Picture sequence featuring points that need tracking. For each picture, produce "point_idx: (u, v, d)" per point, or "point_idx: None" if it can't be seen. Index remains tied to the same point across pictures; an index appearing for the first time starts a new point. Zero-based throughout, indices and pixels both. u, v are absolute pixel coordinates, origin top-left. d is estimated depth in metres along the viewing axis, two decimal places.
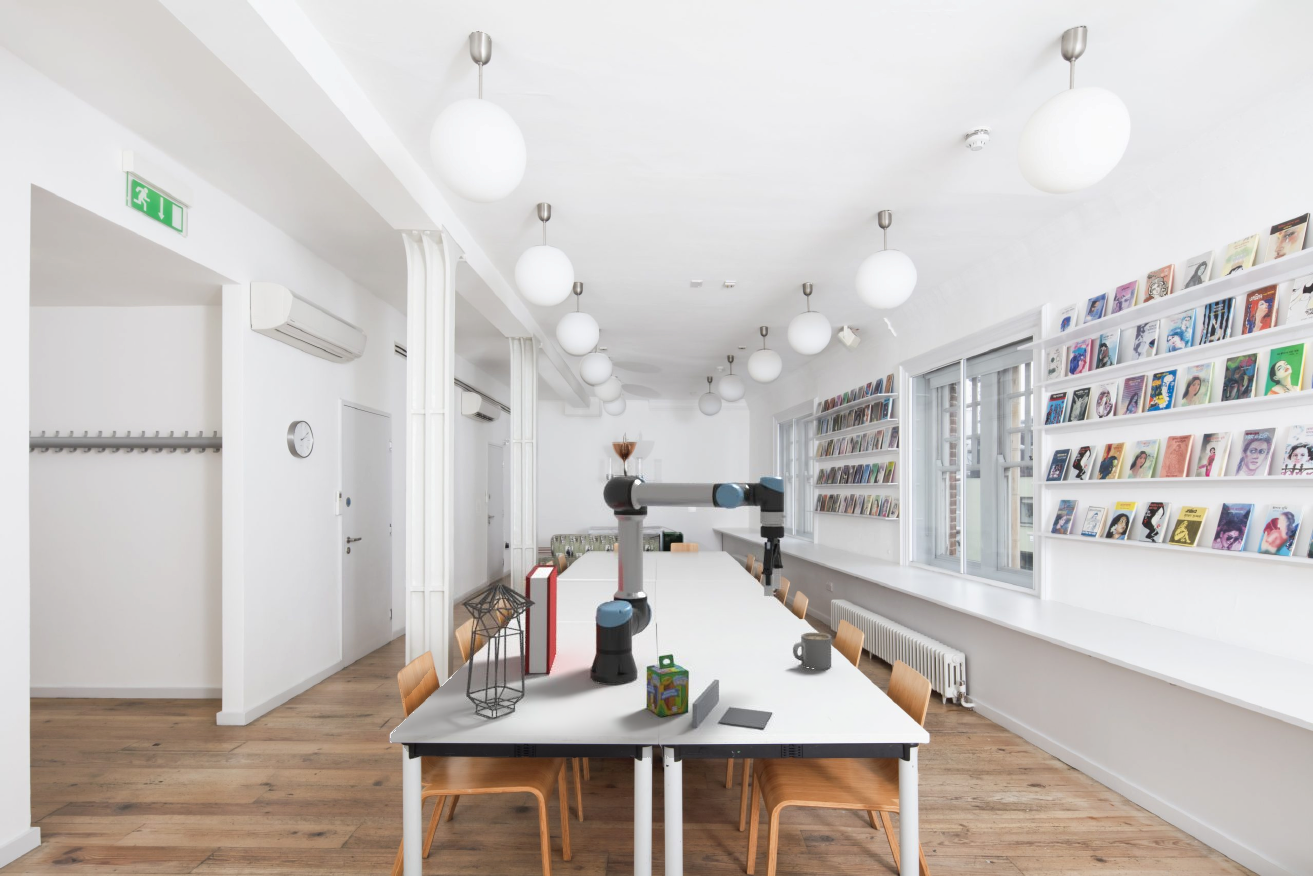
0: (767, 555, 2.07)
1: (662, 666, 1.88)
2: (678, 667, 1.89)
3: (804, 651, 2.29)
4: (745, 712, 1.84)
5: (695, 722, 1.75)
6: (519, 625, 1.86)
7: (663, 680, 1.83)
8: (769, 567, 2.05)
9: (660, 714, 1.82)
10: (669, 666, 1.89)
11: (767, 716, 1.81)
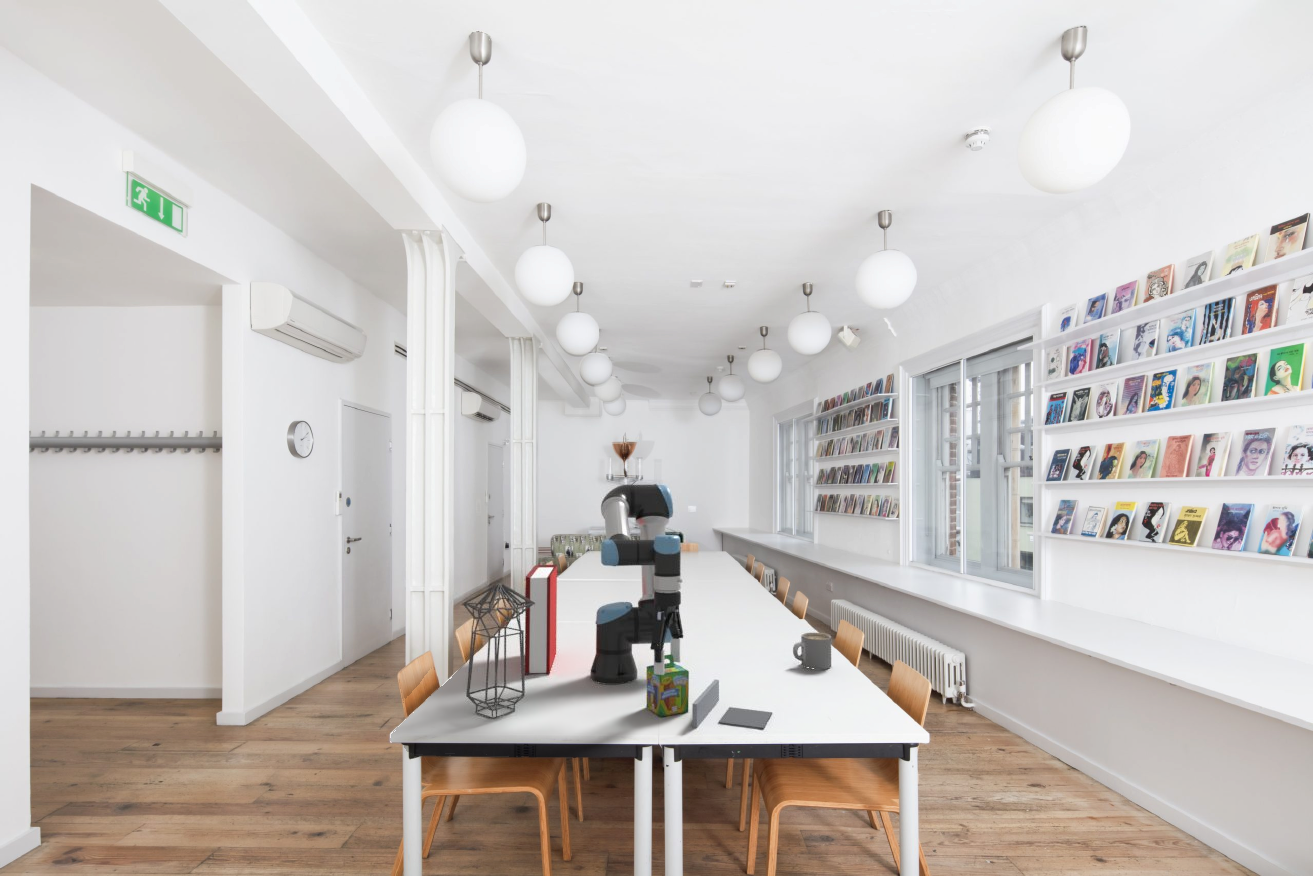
0: (657, 627, 1.81)
1: None
2: (678, 667, 1.89)
3: (804, 651, 2.29)
4: (745, 712, 1.84)
5: (695, 722, 1.75)
6: (519, 625, 1.86)
7: (663, 680, 1.83)
8: (658, 642, 1.79)
9: (660, 714, 1.82)
10: (669, 666, 1.89)
11: (767, 716, 1.81)
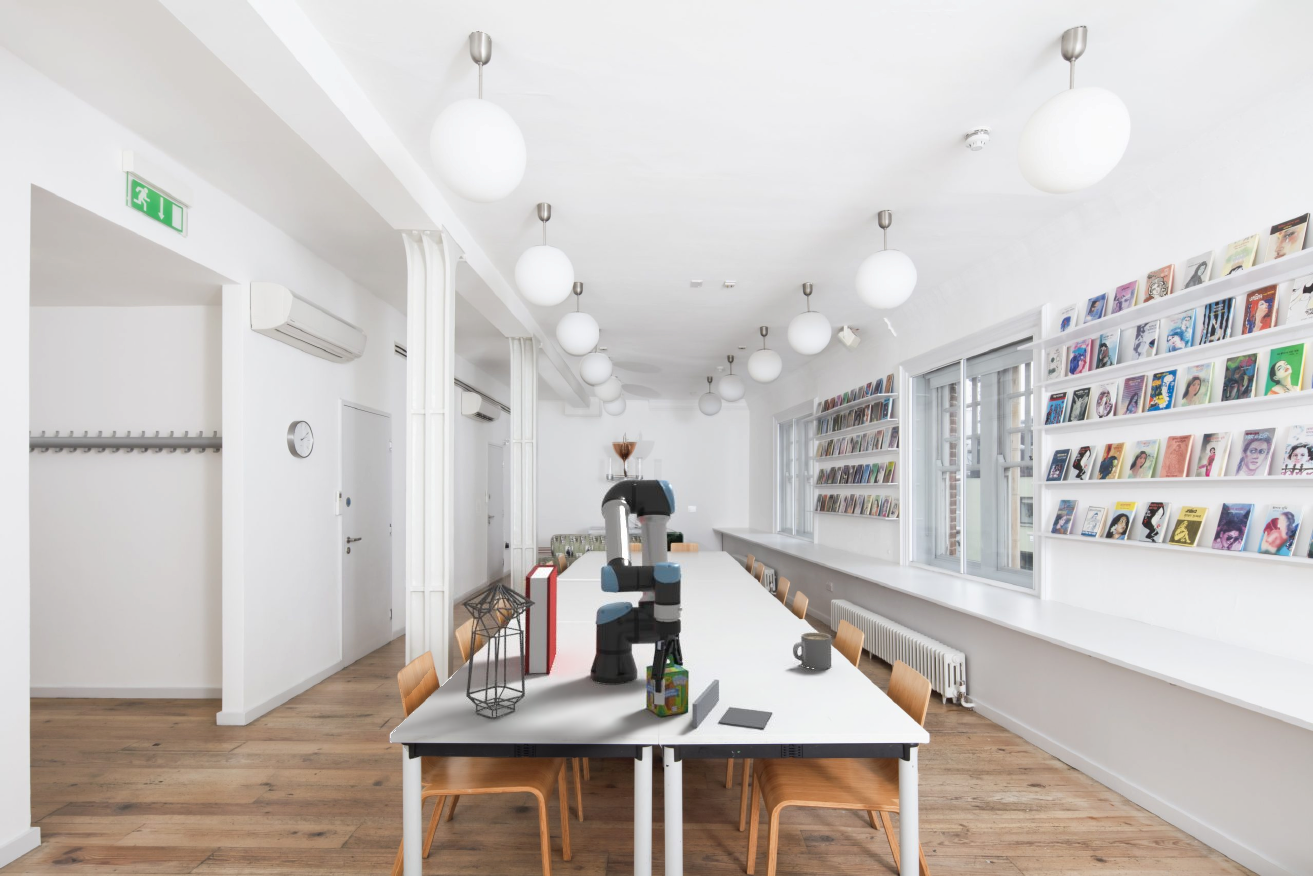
0: (658, 658, 1.81)
1: None
2: (678, 667, 1.89)
3: (804, 651, 2.29)
4: (745, 712, 1.84)
5: (695, 722, 1.75)
6: (519, 625, 1.86)
7: None
8: (658, 672, 1.79)
9: (660, 714, 1.82)
10: (669, 666, 1.89)
11: (767, 716, 1.81)
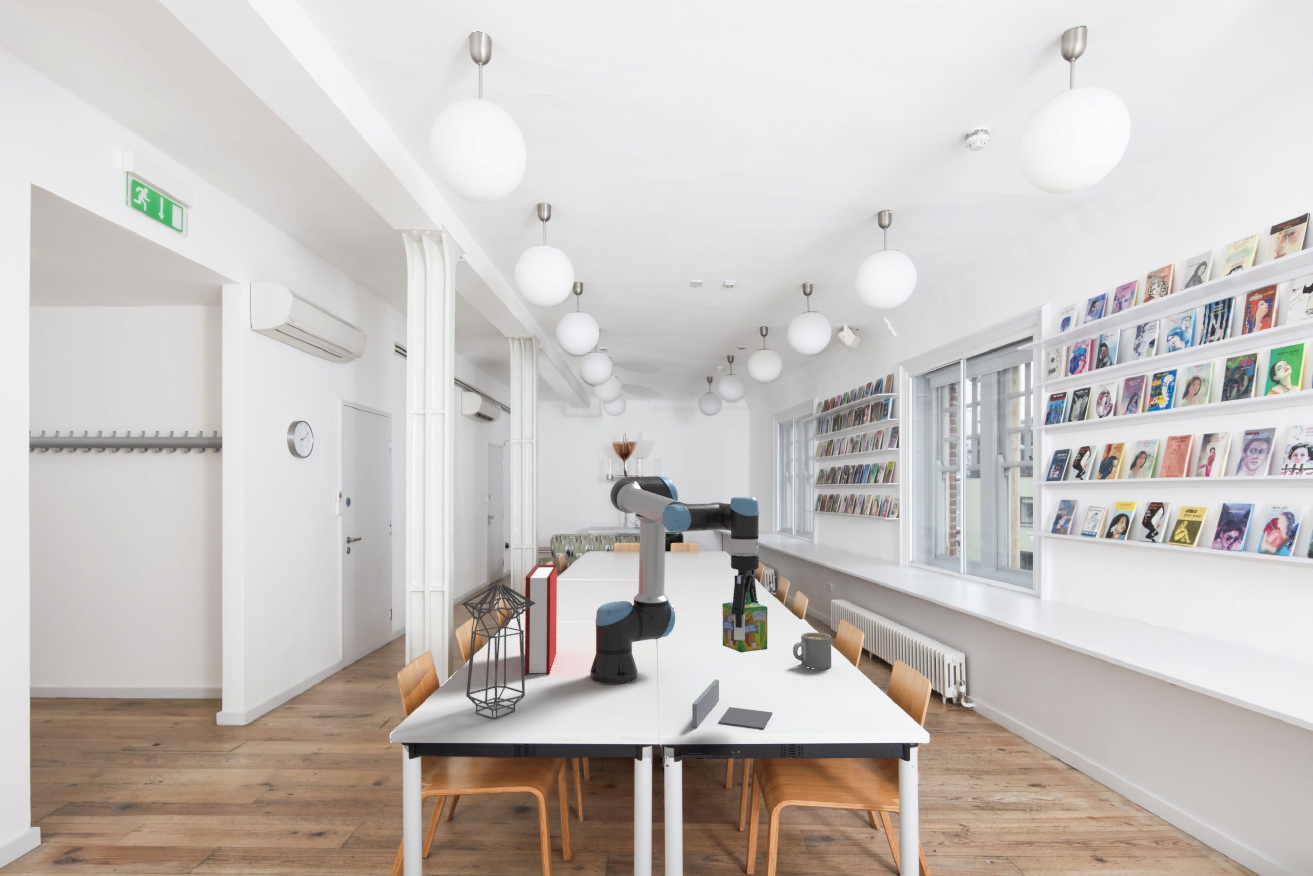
0: (738, 592, 1.76)
1: None
2: (755, 604, 1.83)
3: (804, 651, 2.29)
4: (745, 712, 1.84)
5: (695, 722, 1.75)
6: (519, 625, 1.86)
7: None
8: (739, 606, 1.74)
9: (740, 650, 1.76)
10: (746, 603, 1.83)
11: (767, 716, 1.81)
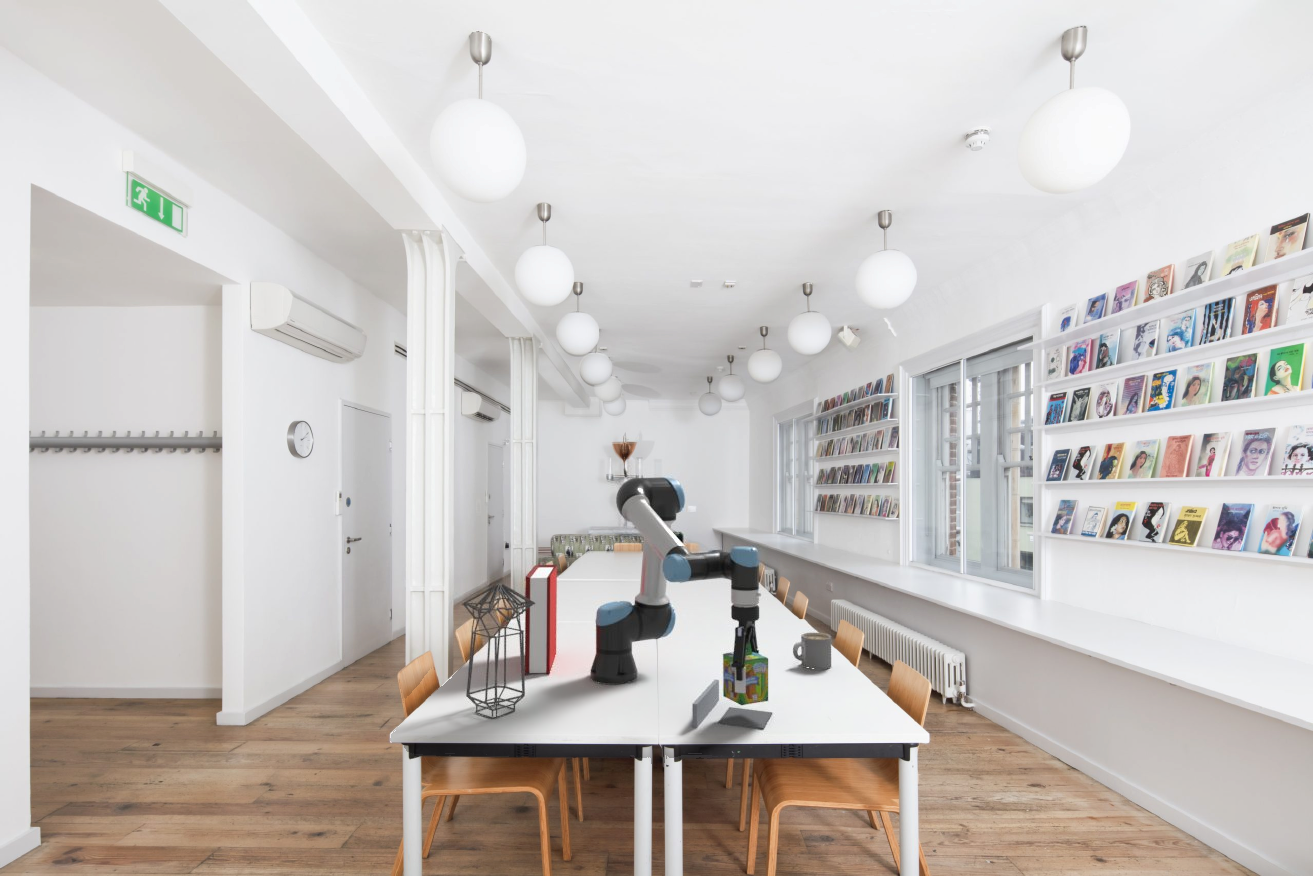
0: (738, 644, 1.75)
1: None
2: (756, 654, 1.82)
3: (804, 651, 2.29)
4: (745, 712, 1.84)
5: (695, 722, 1.75)
6: (519, 625, 1.86)
7: None
8: (740, 659, 1.73)
9: (741, 703, 1.75)
10: (747, 653, 1.82)
11: (767, 716, 1.81)
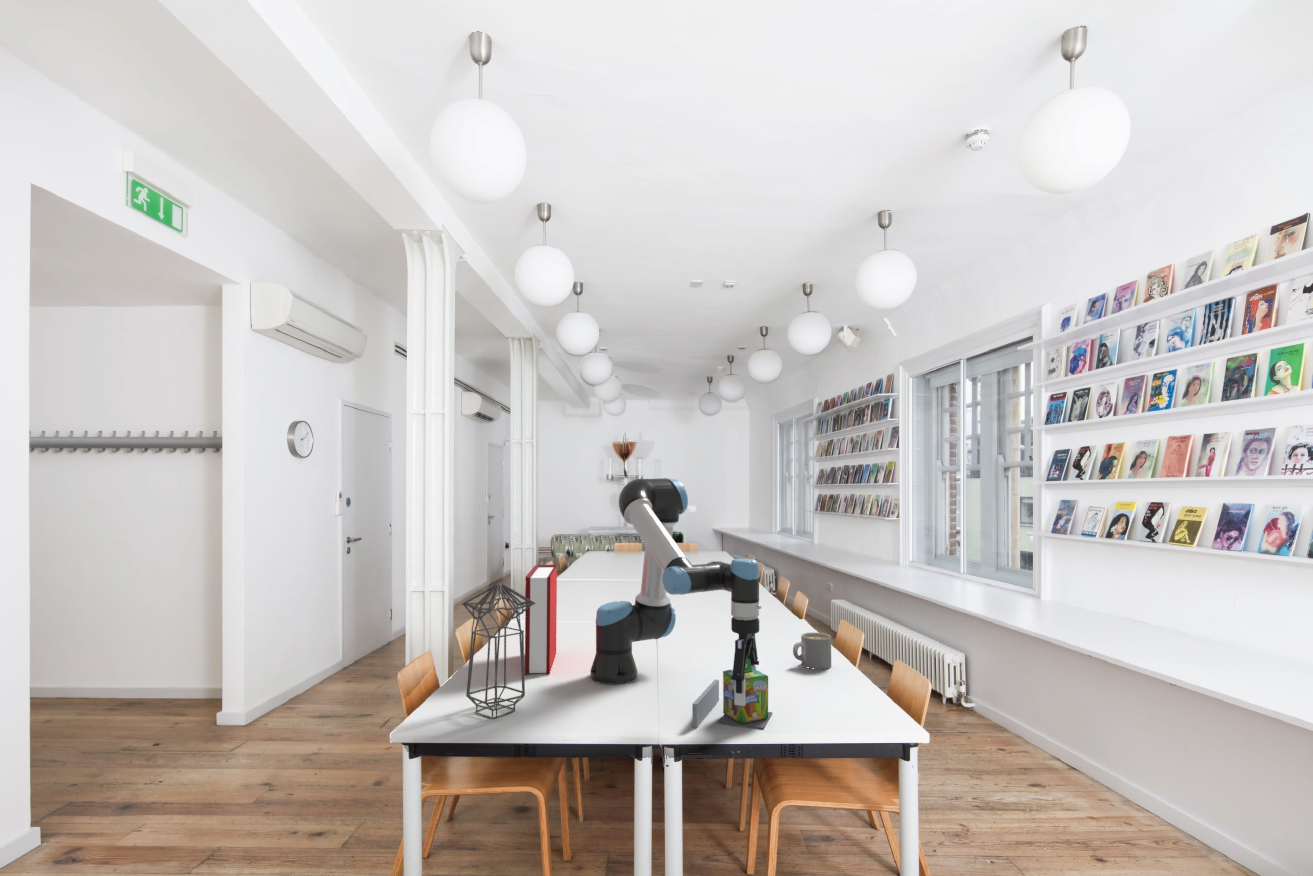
0: (738, 657, 1.75)
1: None
2: (756, 672, 1.82)
3: (804, 651, 2.29)
4: None
5: (695, 722, 1.75)
6: (519, 625, 1.86)
7: None
8: (740, 672, 1.73)
9: (741, 721, 1.76)
10: (747, 671, 1.82)
11: None
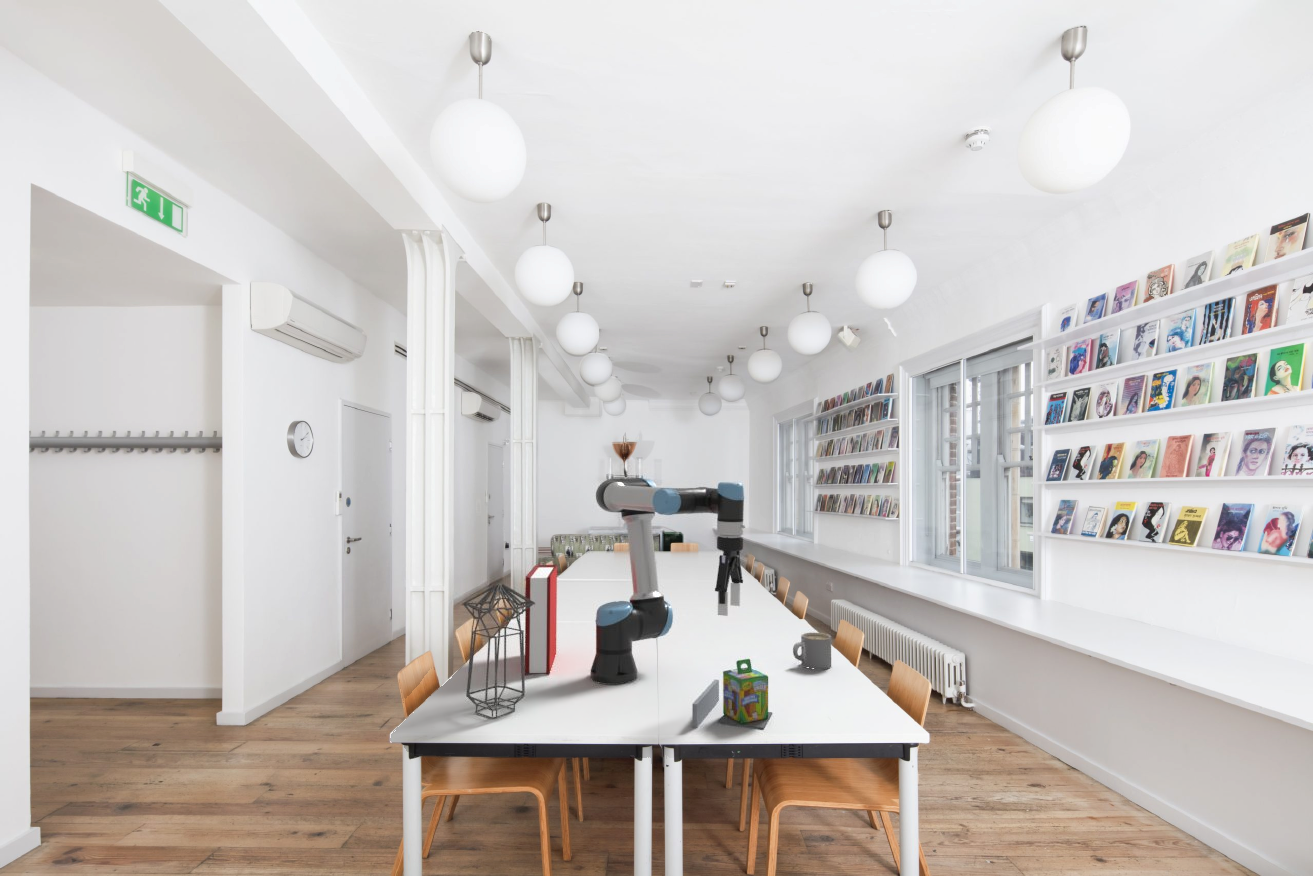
0: (722, 570, 1.87)
1: (740, 671, 1.82)
2: (756, 672, 1.83)
3: (804, 651, 2.29)
4: None
5: (695, 722, 1.75)
6: (519, 625, 1.86)
7: (744, 686, 1.76)
8: (723, 584, 1.85)
9: (741, 721, 1.76)
10: (747, 671, 1.83)
11: None
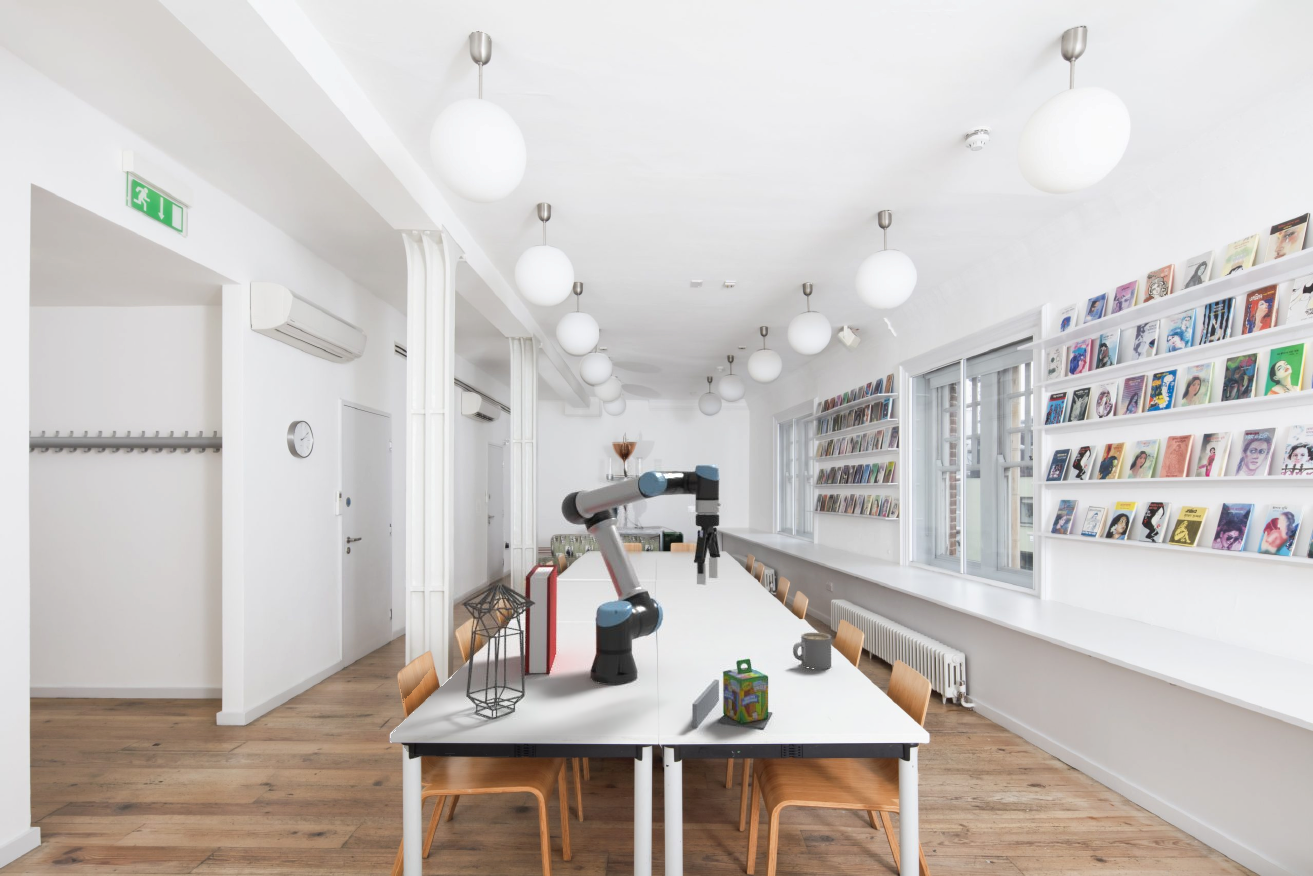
0: (700, 543, 2.06)
1: (740, 671, 1.82)
2: (756, 672, 1.83)
3: (804, 651, 2.29)
4: None
5: (695, 722, 1.75)
6: (519, 625, 1.86)
7: (744, 686, 1.76)
8: (701, 555, 2.04)
9: (741, 721, 1.76)
10: (747, 671, 1.83)
11: None
